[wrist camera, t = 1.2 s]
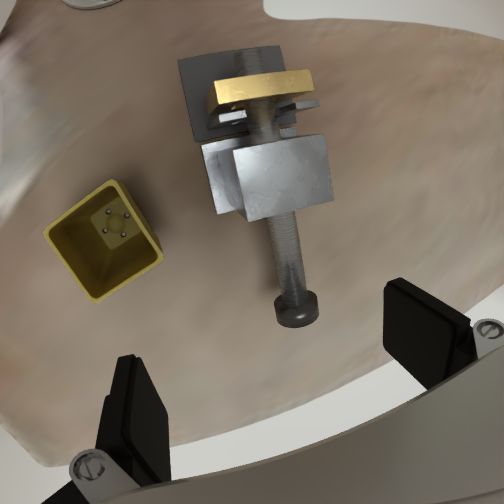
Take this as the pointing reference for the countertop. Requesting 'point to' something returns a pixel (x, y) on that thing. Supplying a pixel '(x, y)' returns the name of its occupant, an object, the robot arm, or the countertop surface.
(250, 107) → the shaft
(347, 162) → the countertop surface
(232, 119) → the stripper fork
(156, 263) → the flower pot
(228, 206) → the block
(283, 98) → the gold bearing plate
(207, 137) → the mat
